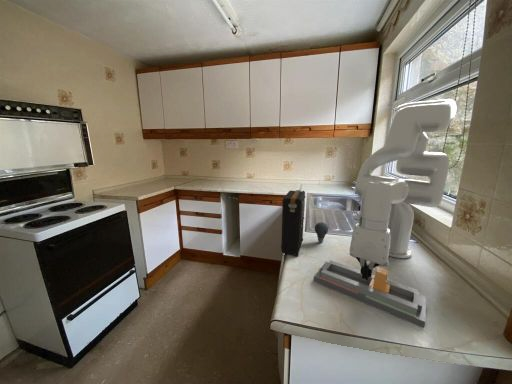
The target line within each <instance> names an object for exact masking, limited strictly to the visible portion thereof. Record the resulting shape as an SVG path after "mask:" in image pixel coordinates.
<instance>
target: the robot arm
mask: <svg viewBox="0 0 512 384" xmlns="http://www.w3.org/2000/svg"><path fill="white" fill-rule="evenodd" d="M456 113H457V103H456V101H455V100H453V99H451V98H447V99H435V100H426V101H415V102H408V103H404V104H401V105H398V106H397V107H396V109H395V111H394V116H393V119H392V120H391V121H392V122H391V124H390V127H389V130H388V134H387V136H386V139H385V141H384V142H385V143H384V145H383V146H382V147H381V148H379V149H378V150H376V151H375V152H373V153H372V154H371V155H370V156H369V157H368V158H367V159H366V160H364V162H363V164H361V167H360V169H359V172H358V175H357V178H356V181H355V185H354V191H355V194H356V195H357V196H359V198H361V203H360V211H359V215H358V214H357V215H354V217H353V220H355V221H357V223H355V225H354V228H353V232H352V234H351V235H352V237H351V241H350V245H349V246H350V247H349V256H350V257H352V258H355V259H356V260H357V262H359V265H360V270H361V272H360V274H362V278H363V279H364V278H365V280H368V278H369V277H371V276H372V275H373V269H375V268H377V267H385V268H387V267H389V257H391V258H395V259H408V258H411V257H412V254H413V252H412V251H411V249H410V248H409V245H410V240H411V239H410V238H411V234H412V228H413V224H414V218H415V213H414V210H413V209H412V207H411V205H415V206H420V207H425V208H436V207H438V206H440V204H441V202H442V201H443V196H444V191H445V189H446V188H445V187H446V182H447V179H448V172H449V168H450V157H449V156H448V154H446V153H443V152H437V151H435V152H434V151H430V152H429V151H427V146H428V145H427V144H428V140H429V138H428V135H427V133H441V132H443V131H445V130H446V129H448V127H449V126H450V124H451V123H452V122H453V120H454V118H455V116H456ZM395 161H396V166H395V167H396V168H395V170H396V172H397V173H398V174H399V175H401V176H407V177H418V178H427V179H429V181H428V180H427V181H426V180H419V179H409V178H397V177H389V176H388V177H387V176H380V175H372V174H373V172H374V171H375V170H376V169H377V168H379V167H381V166H383V165H386V164H389V163H392V162H395ZM367 261H368V262H369V263H368V262H367Z"/></svg>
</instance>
